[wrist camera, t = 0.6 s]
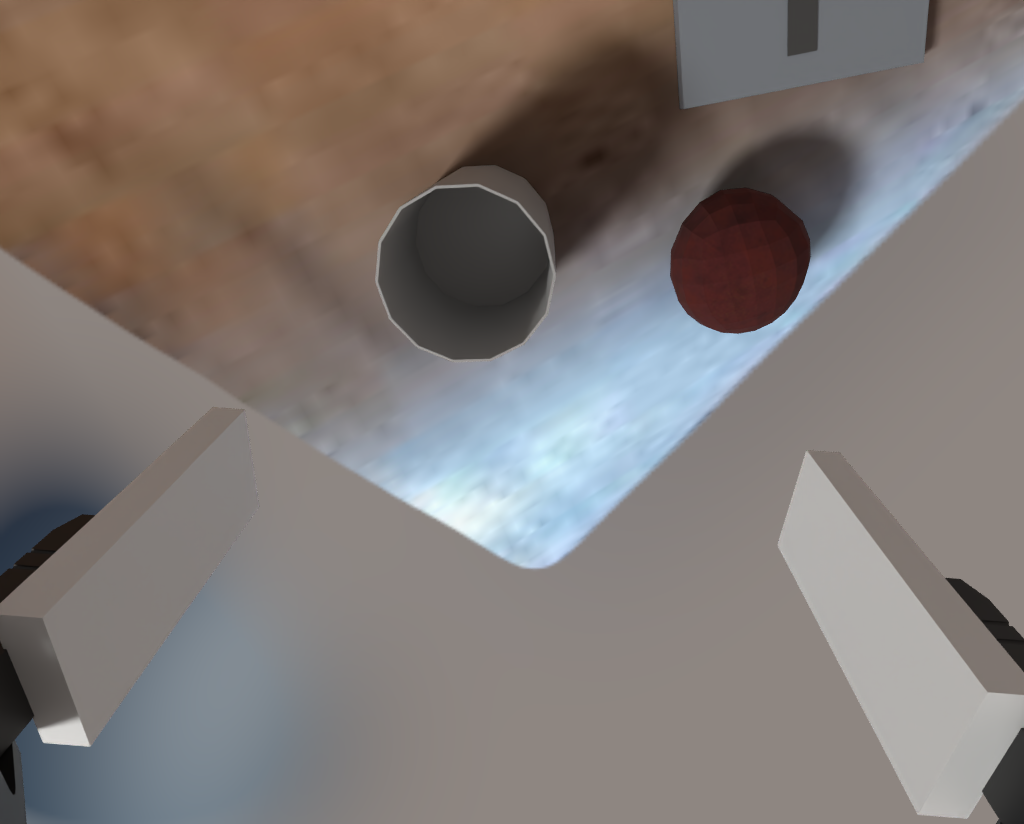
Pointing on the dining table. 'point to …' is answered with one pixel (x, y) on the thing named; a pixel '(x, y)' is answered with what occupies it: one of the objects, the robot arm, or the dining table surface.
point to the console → (789, 43)
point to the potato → (739, 260)
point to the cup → (469, 265)
